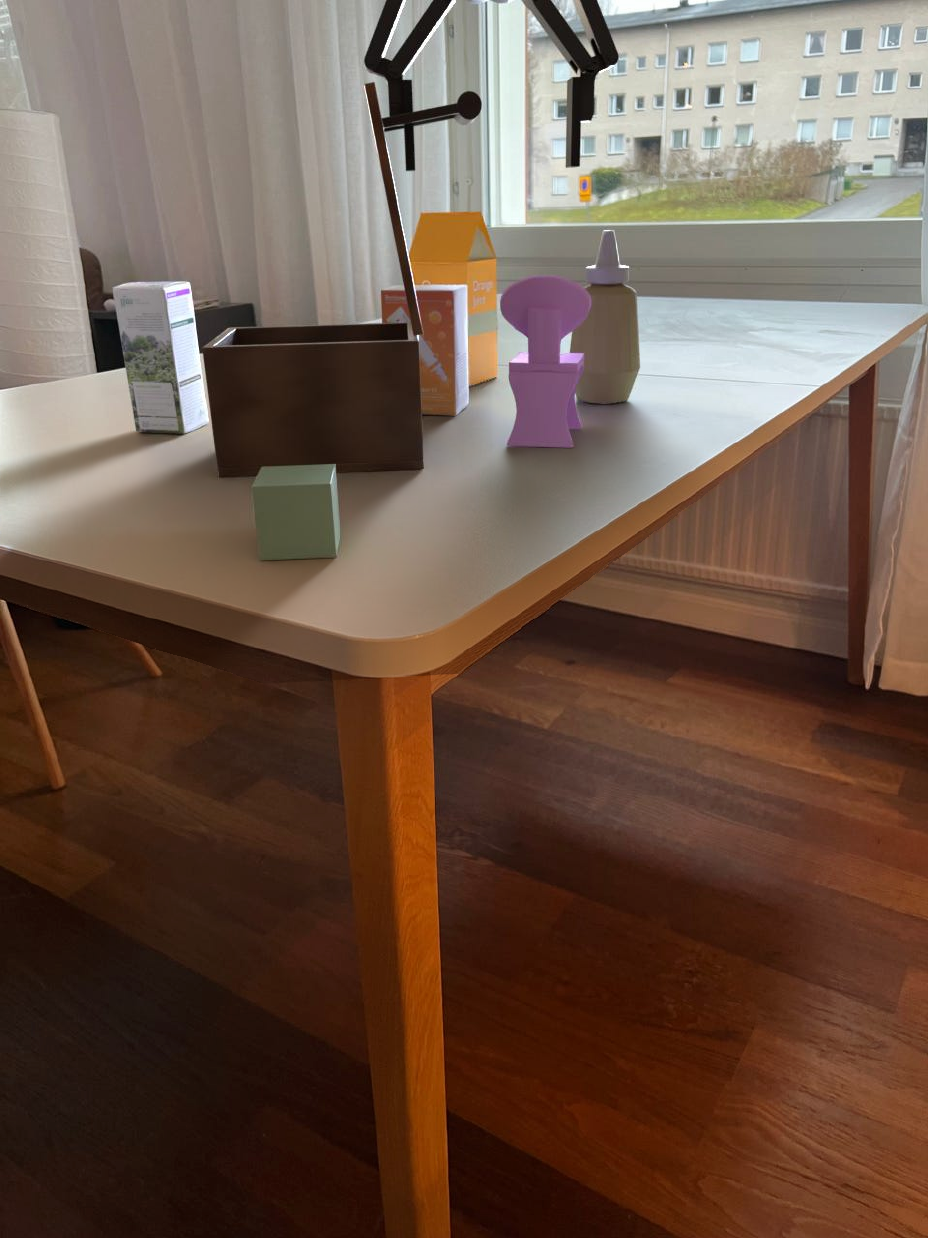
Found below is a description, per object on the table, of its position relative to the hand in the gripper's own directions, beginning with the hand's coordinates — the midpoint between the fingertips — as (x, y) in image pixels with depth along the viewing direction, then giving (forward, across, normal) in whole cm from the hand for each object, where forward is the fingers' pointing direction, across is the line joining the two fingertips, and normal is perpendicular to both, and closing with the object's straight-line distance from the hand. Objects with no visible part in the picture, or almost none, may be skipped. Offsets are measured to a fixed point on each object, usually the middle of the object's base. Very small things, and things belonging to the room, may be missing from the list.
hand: (491, 169), depth 80 cm
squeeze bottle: (+24, -14, -21) cm, 35 cm away
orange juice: (+24, +2, -38) cm, 45 cm away
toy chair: (+24, -5, -4) cm, 25 cm away
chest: (+24, +16, 0) cm, 28 cm away
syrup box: (+24, +33, -14) cm, 43 cm away
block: (+24, +16, +26) cm, 38 cm away
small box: (+24, +6, -19) cm, 31 cm away
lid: (+3, +9, 0) cm, 9 cm away
